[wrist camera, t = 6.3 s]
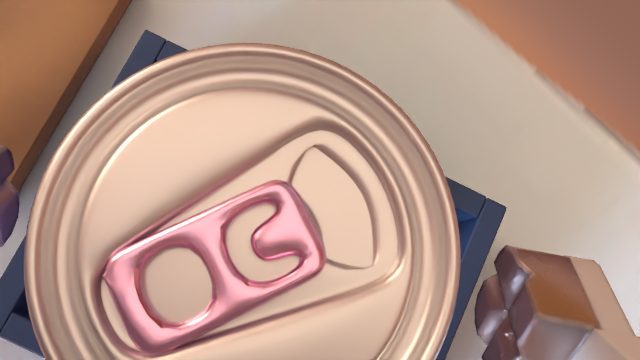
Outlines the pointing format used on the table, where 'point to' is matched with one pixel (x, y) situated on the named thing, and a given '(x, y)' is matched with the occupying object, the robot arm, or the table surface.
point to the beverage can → (242, 219)
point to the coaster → (46, 67)
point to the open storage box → (471, 207)
